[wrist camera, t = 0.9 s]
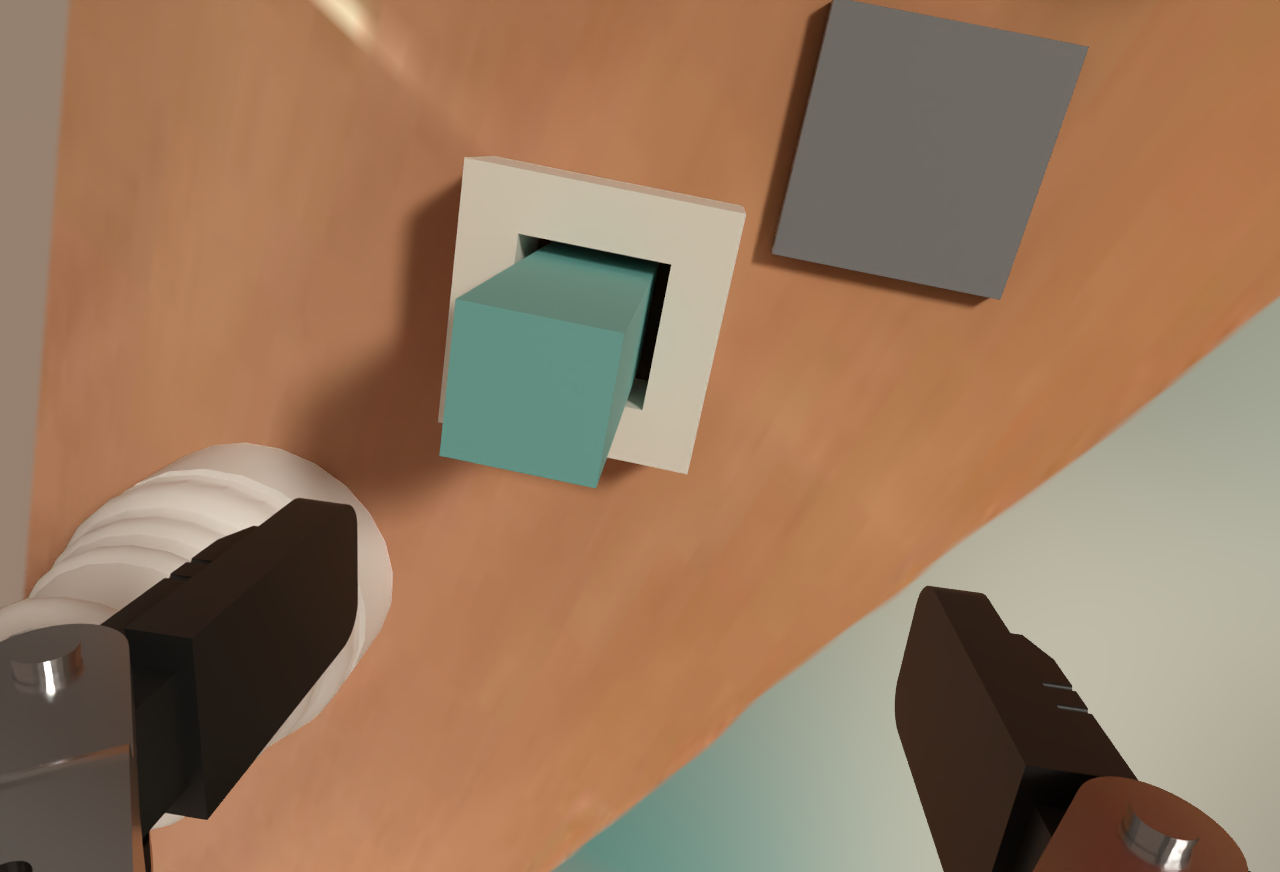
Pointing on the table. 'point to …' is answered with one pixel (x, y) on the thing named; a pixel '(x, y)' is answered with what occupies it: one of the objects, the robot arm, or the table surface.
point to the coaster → (923, 147)
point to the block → (547, 362)
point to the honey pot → (184, 526)
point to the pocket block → (624, 224)
